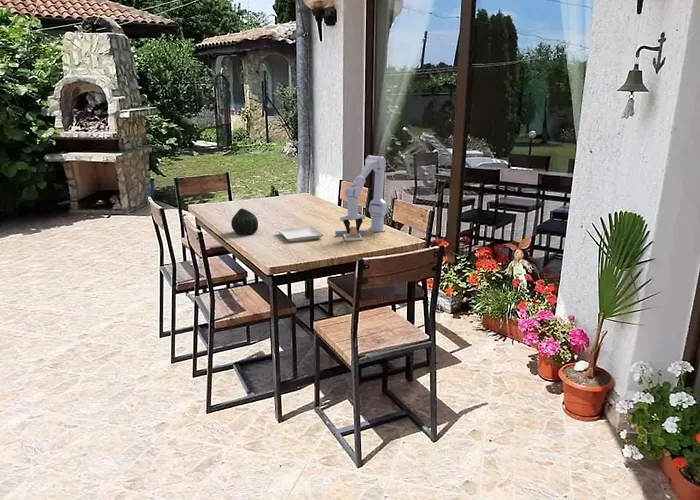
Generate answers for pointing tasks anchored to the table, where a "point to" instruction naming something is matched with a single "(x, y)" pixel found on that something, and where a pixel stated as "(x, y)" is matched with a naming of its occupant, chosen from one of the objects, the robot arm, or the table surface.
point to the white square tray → (352, 237)
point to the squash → (244, 222)
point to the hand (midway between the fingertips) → (352, 232)
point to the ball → (352, 231)
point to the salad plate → (300, 233)
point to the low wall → (341, 233)
